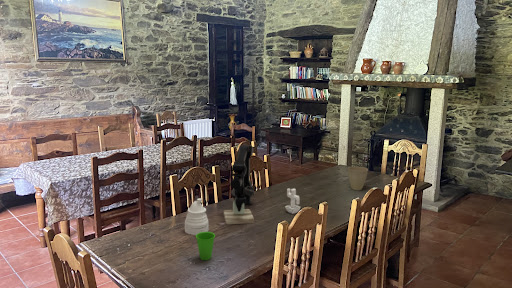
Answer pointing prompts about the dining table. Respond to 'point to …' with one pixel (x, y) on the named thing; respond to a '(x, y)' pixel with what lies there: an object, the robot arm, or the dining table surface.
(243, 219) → the birch base
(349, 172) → the plant pot
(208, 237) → the cup
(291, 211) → the figurine
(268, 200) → the dining table surface
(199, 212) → the honey pot
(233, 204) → the sage cube
